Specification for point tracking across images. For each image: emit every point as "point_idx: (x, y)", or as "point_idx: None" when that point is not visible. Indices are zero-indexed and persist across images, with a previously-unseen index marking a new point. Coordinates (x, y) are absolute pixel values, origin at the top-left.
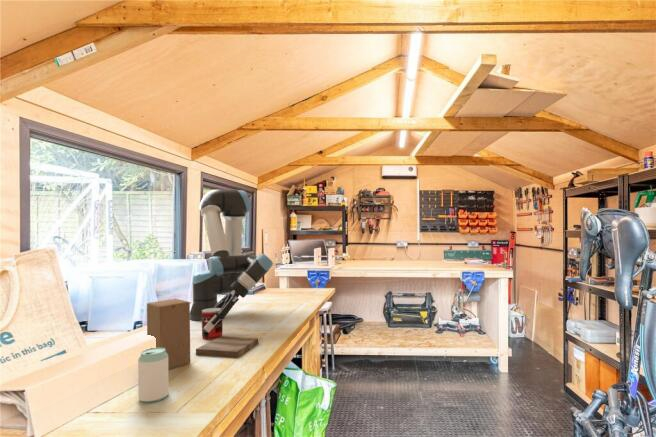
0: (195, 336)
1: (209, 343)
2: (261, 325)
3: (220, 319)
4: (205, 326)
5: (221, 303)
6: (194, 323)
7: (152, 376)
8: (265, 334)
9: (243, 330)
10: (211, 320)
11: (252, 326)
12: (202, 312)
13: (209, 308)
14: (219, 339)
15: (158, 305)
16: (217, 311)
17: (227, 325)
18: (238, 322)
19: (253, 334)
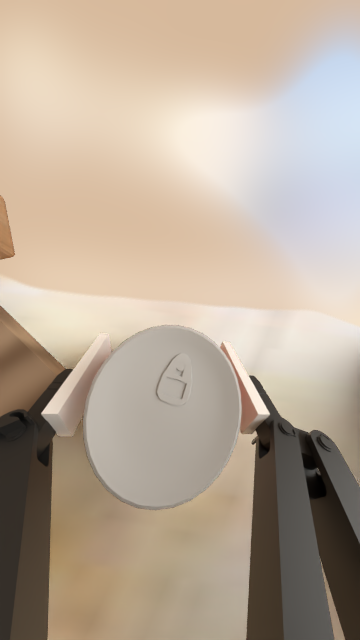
0: (196, 325)
1: (4, 343)
2: (240, 624)
3: (58, 434)
4: (95, 340)
5: (272, 565)
6: (344, 342)
7: None
8: (64, 626)
9: (192, 506)
10: (72, 373)
11: (239, 564)
12: (155, 327)
13: (235, 390)
14: (31, 385)
15: None
16: (89, 447)
17: None
18: None
19: (104, 550)
